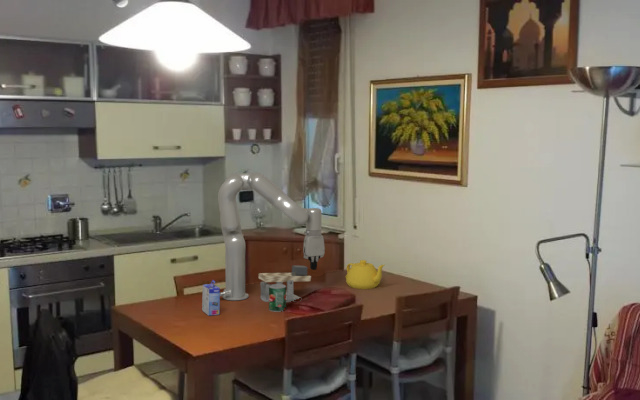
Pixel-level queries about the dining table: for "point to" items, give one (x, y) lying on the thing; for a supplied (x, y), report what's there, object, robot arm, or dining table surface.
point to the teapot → (363, 275)
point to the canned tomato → (277, 297)
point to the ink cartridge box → (211, 299)
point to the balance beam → (282, 277)
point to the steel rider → (299, 271)
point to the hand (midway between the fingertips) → (313, 269)
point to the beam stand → (289, 292)
